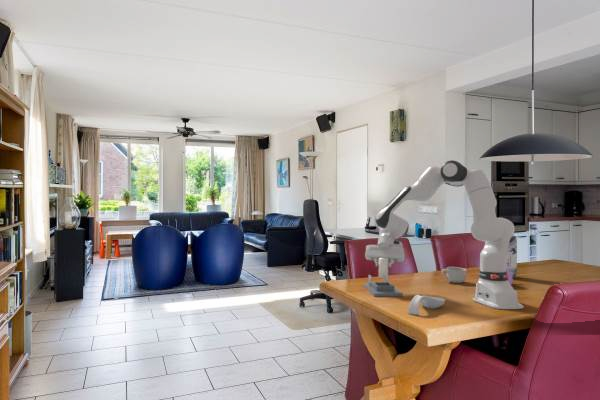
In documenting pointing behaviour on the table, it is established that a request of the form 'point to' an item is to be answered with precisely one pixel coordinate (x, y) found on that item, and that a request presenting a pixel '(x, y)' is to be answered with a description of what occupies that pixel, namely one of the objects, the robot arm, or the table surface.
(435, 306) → the grey curved piece
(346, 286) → the table surface
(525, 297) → the table surface
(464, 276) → the teacup
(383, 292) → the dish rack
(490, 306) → the robot arm
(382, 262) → the white rectangular block
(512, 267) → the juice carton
